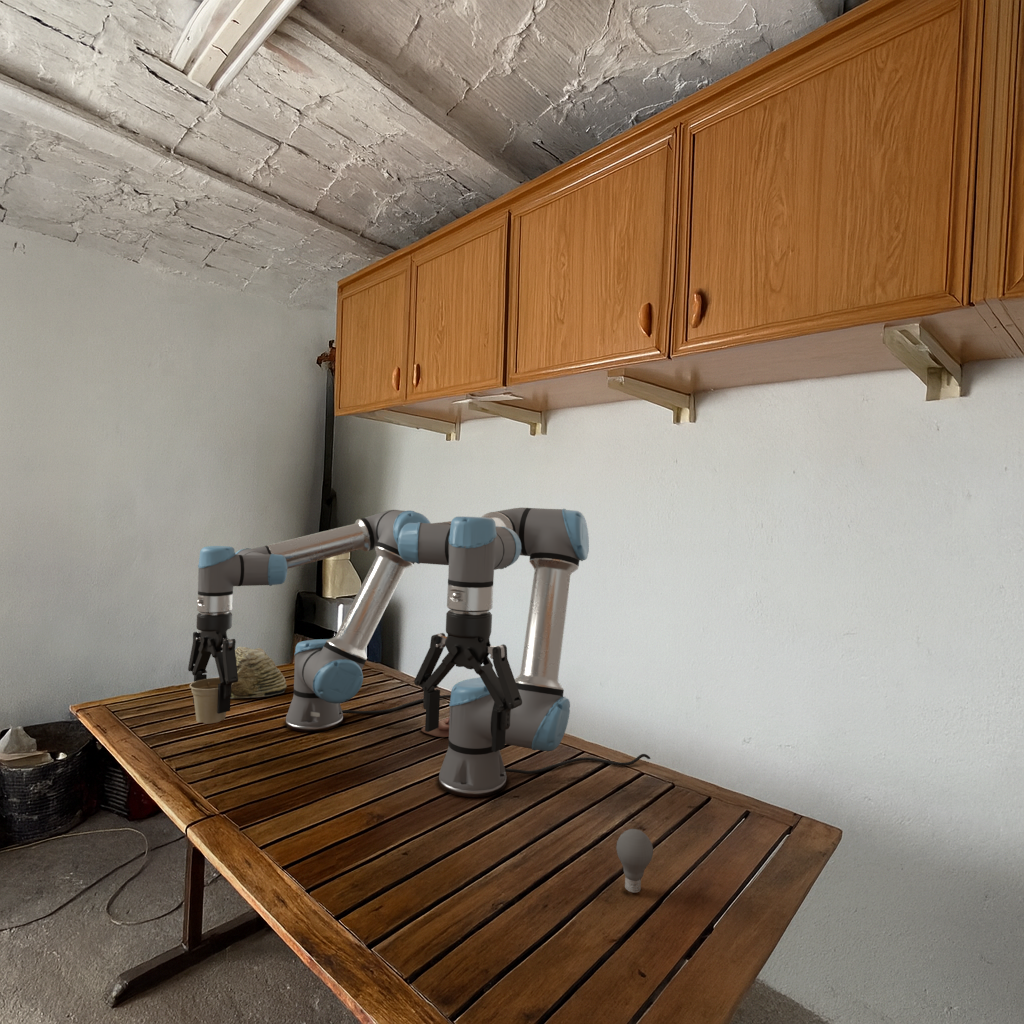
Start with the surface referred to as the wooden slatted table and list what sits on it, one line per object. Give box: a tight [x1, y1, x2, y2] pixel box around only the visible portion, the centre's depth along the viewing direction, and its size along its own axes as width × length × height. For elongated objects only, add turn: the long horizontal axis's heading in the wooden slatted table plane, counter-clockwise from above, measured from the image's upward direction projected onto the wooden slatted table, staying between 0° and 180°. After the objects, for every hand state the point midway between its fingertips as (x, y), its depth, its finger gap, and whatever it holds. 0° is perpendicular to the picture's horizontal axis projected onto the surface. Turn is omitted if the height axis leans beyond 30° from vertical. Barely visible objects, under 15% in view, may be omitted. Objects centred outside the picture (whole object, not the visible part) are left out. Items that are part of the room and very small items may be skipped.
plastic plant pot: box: [189, 677, 234, 725], centre depth 149 cm, size 9×9×9 cm
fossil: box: [231, 646, 288, 699], centre depth 198 cm, size 9×18×15 cm, turn 132°
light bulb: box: [615, 828, 654, 894], centre depth 106 cm, size 6×6×10 cm
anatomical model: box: [420, 717, 449, 738], centre depth 175 cm, size 13×4×12 cm
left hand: (211, 707), depth 149 cm, fingers closed on plastic plant pot, 9 cm apart
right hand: (463, 738), depth 104 cm, fingers open, 13 cm apart
